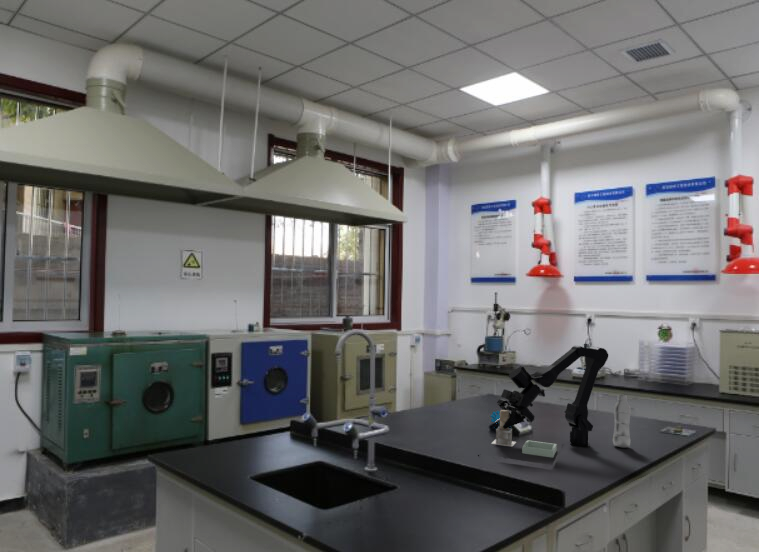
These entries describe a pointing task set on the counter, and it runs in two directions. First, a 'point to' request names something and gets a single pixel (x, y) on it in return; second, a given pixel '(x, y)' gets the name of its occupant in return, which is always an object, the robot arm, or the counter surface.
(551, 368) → the robot arm
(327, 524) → the counter surface
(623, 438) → the plastic bottle
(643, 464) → the counter surface
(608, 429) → the counter surface
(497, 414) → the blue lobed toy
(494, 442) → the stud plate
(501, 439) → the stamp
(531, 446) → the tray
